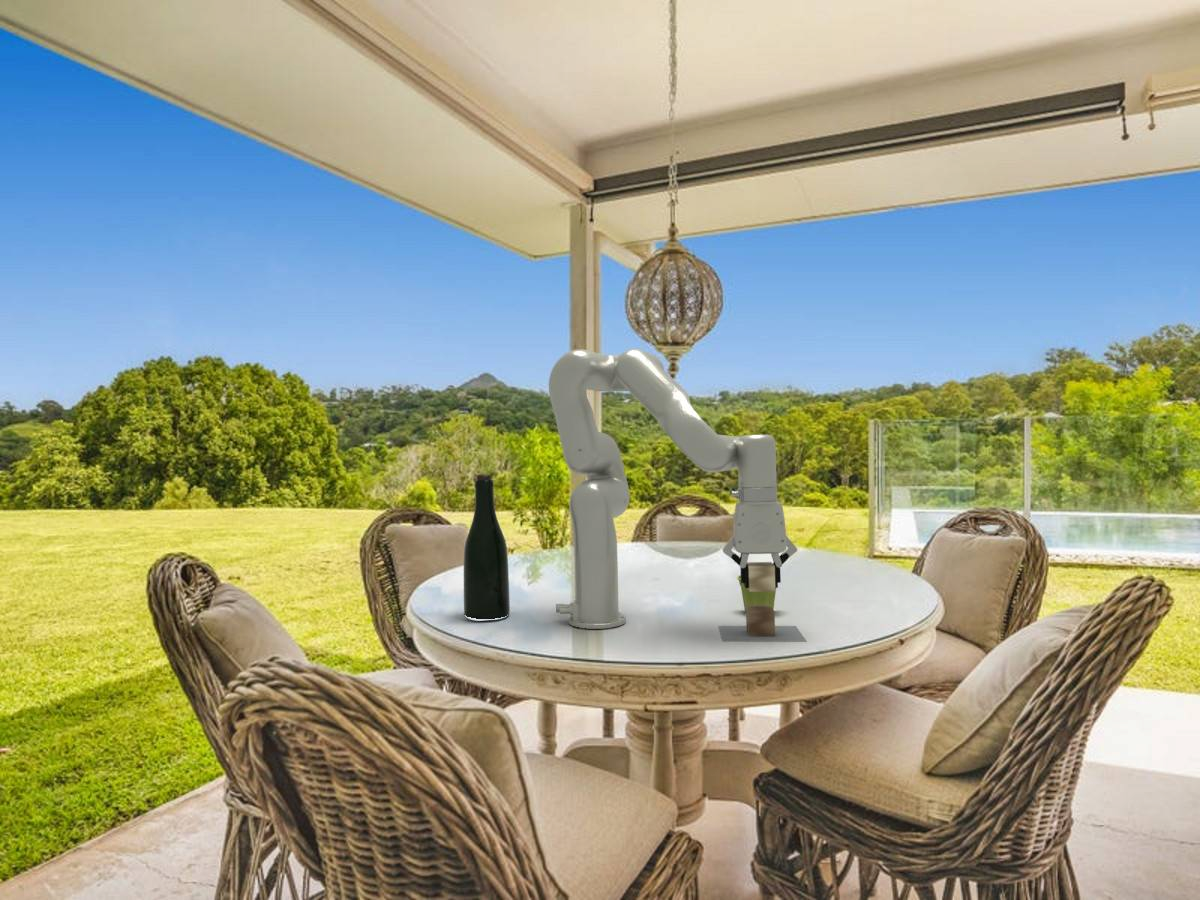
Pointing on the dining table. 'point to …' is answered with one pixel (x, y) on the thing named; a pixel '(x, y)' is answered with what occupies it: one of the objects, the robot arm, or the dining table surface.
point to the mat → (742, 636)
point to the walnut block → (760, 621)
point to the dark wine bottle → (485, 559)
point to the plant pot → (756, 597)
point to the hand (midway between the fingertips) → (760, 585)
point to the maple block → (761, 576)
